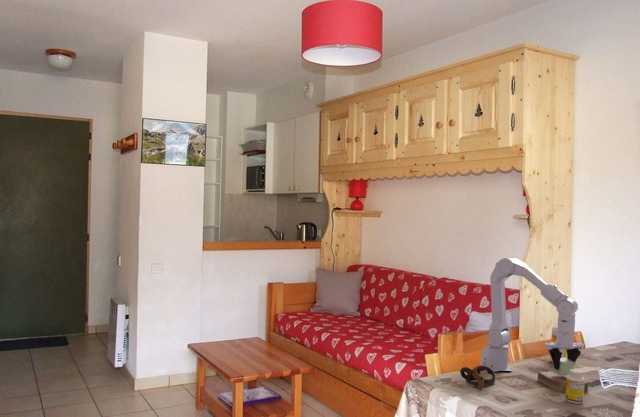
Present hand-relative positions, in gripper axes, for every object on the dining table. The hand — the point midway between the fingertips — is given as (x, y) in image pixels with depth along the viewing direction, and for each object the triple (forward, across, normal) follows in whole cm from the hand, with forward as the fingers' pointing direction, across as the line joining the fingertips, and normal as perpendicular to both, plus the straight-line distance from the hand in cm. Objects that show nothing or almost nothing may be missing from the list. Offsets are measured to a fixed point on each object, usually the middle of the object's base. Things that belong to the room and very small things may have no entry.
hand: (563, 369), depth 200 cm
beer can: (+6, +17, +27) cm, 33 cm away
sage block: (+2, 0, 0) cm, 2 cm away
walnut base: (+6, 0, 0) cm, 6 cm away
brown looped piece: (+6, -33, +1) cm, 34 cm away
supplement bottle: (+6, -6, -15) cm, 17 cm away
